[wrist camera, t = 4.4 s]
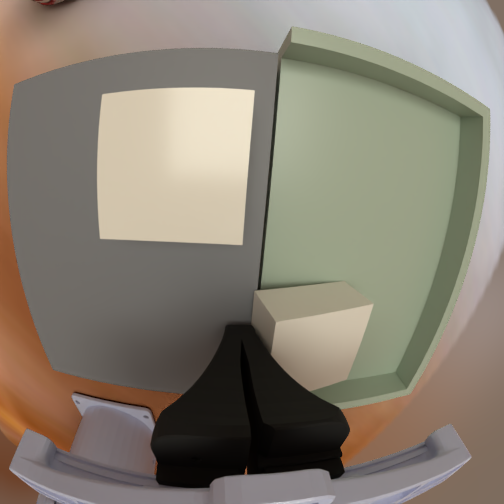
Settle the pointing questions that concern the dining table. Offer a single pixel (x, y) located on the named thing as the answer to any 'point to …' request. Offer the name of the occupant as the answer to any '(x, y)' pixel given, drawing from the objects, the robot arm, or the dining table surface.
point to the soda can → (48, 1)
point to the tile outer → (174, 164)
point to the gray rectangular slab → (127, 251)
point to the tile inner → (312, 329)
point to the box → (373, 198)
